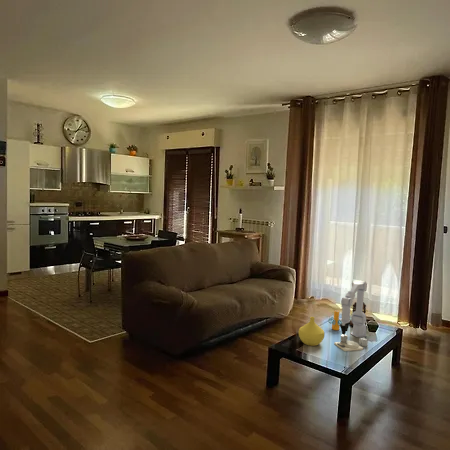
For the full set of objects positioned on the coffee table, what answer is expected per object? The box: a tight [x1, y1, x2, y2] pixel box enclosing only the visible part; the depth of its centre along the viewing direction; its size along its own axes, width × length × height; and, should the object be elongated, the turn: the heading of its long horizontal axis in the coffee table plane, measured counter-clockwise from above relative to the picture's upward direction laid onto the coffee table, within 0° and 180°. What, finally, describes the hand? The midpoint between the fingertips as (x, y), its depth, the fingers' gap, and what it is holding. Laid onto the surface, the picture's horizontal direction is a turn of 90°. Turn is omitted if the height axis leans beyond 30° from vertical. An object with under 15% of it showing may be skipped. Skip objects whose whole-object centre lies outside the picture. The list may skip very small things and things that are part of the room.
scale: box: [333, 339, 364, 352], centre depth 276 cm, size 15×13×2 cm
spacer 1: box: [339, 333, 349, 344], centre depth 278 cm, size 4×4×5 cm
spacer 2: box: [358, 337, 368, 348], centre depth 279 cm, size 4×4×5 cm
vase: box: [298, 316, 325, 347], centre depth 278 cm, size 18×18×19 cm
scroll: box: [349, 301, 367, 326], centre depth 321 cm, size 15×15×20 cm
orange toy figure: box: [327, 309, 342, 331], centre depth 311 cm, size 12×10×15 cm
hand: (344, 332), depth 277 cm, fingers open, 7 cm apart
